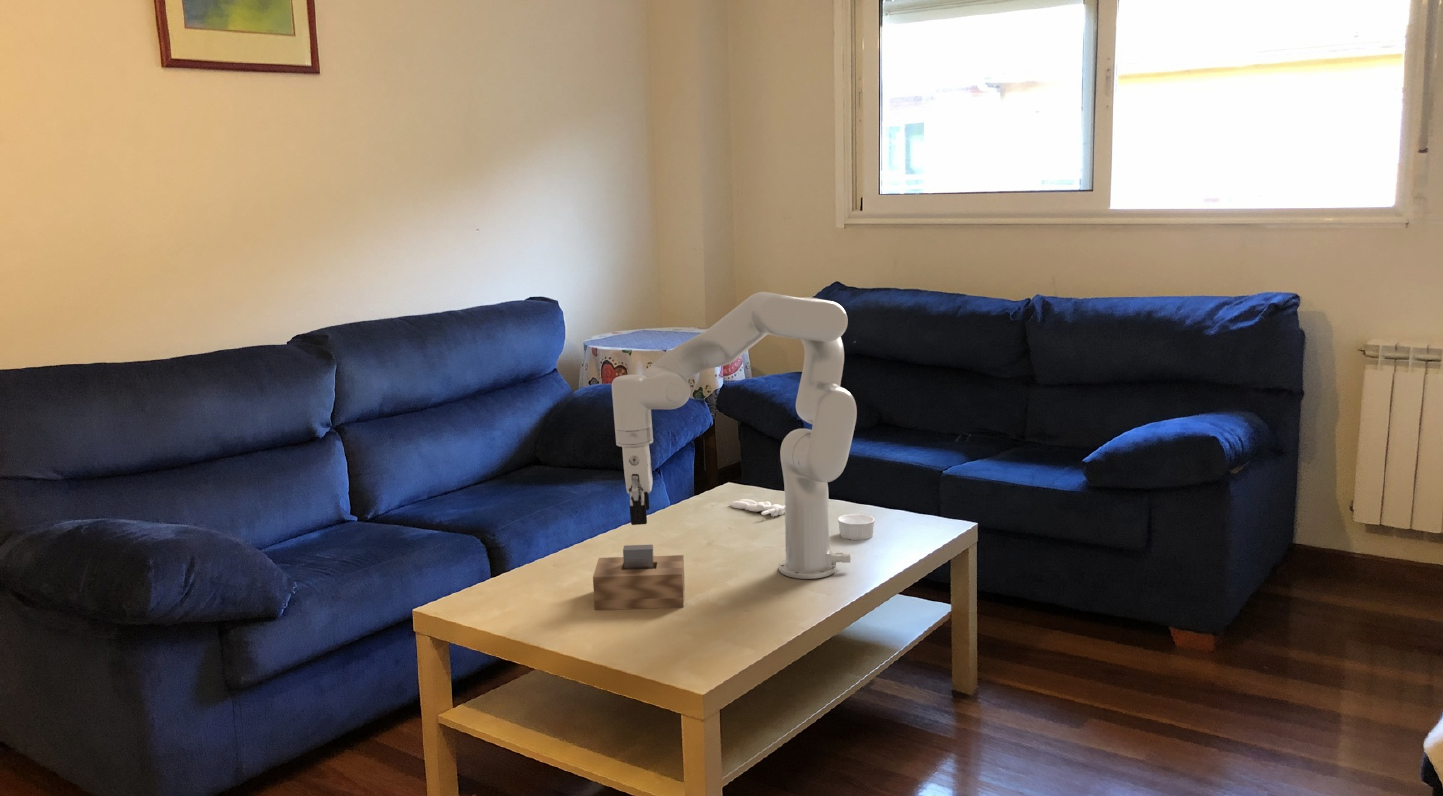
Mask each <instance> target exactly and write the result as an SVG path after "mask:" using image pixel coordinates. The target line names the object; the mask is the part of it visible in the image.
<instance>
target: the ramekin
mask: <svg viewBox="0 0 1443 796" xmlns="http://www.w3.org/2000/svg"><path fill="white" fill-rule="evenodd" d="M875 520H876V519H875V518H874V516H871V515H867V514H862V513H850V514H849V513H848V514H844V515H840V516H839V517H838V518H837V522H838V526H839V535H841V536H842V537H841V536H840V537H841V538H843V537H844V538H843V539H845V538H846V540H849V539H851V540H850V541H863V540H864V539H865V540H868V538H869V539H870V537H871V538H872V537H873V535H874V526H875V522H876V521H875Z"/></svg>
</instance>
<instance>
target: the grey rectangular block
mask: <svg viewBox="0 0 1443 796" xmlns="http://www.w3.org/2000/svg"><path fill="white" fill-rule="evenodd" d="M622 555H623V556H622V557H623V560H624V570H630V569H654V559H653V556H654V544H631V545H630V544H627V545H623V549H622Z"/></svg>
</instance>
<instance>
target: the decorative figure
mask: <svg viewBox="0 0 1443 796" xmlns="http://www.w3.org/2000/svg"><path fill="white" fill-rule="evenodd" d="M729 506H730V507H732V508H734V509H739V510H743V509H744V510H745V509H746V510H747V511H750V512H754V513H758V512H760V513H761V516H765V515H769V514H770V516H771V517H772V516H776V517H777V516H778V515H780V516H782V514H783V511H785V504H784V505H781V504H777V503H775V504H771V502H770V501H759V502H756V501H755V500H753V499H747V498H746V499H745V498H744V499H742V498H741V499H737V500H736V501H735V500H734V501H731V502H730V503H729Z"/></svg>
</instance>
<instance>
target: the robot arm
mask: <svg viewBox="0 0 1443 796" xmlns="http://www.w3.org/2000/svg"><path fill="white" fill-rule="evenodd" d="M848 321H849V320H848V315H847V312H846V310H845V309H844V308H843V306H842V305H840V304H839V303H838V302H835V301H833V300H832V301H831V300H827V299H821V298H818V297H811V296H810V297H805V296H804V297H797V296H791V295H785V294H780V293H775V292H770V291H769V292H768V291H759V292H755V293H753V294H751V295H750V296H749V297H748V298H746V299H745V300H743V301H742V302H741V303H740V304H739V305H737V306H736V307H734V308H733V309H732V310H731V311H729V312H728V313H727V314H725V316H723V317H722V318H721V319H719V320H718V321H717V322H716V323H714V324H713V325H712V326H711V327H709V328H707V329H706V330H705V331H703V332H701V333H699V334H697V335H695V336H693V337H691V338H689V339H688V340H686V341H684V342H682V343H680V344H678V345H677V346H674V348H672V349H671V350H669V351H668V352H666V353H664V355H663V356H661V357H659V358H658V360H656V361H655V362H654V363H652V364H651V365H650V366H649V367H648V368H647V369H646V370H645V371H644V373H643V374H624V375H619V376H616V377H615V378H614V379H613V380H612V382H611V395H612V397H611V398H612V407H613V420H614V432H615V443H616V444H615V445H616V446H617V447H621V448H622V461H623V472H624V480H625V489H626V494H627V495H629V516H630V525H632V526H640V525H647V523H648V520H647V519H648V518H647V517H648V515H647V511H649V510H650V497H649V495H650V493H651V492H652V489H653V480H654V479H653V474H652V473H653V472H652V459H651V452H650V445H652V444H653V443H654V435H653V433H654V432H653V423H652V422H653V421H652V410H676V409H678V408H681V407H682V406H684V405H685V404H686V403H687V402H688V400H689V398H690V396H691V392H692V391H691V385H690V383H689V381H688V380H690V378H692V377H694V376H696V375H698V374H700V373H702V372H705V371H707V370H710V369H715V368H720V367H721V368H722V367H724V366H727V365H729V364H731V363H734V362H735V361H736V360H738V359H739V358H740V357H741V356H743V355H744V354H745V353H746V352H747V351H749V350H750V349H751V348H752V347H754V346H755V345H756V344H757V343H759V341H760V342H761V340H762V339H763V338H765V337H766V336H768V335H770V336H774V337H779V338H786V339H792V340H794V339H795V340H800V341H801V343H802V345H803V349H804V359H803V368H802V373H801V377H800V381H799V385H798V390H797V395H796V400H795V410H796V413H797V415H798V417H799V418H800V419H801V420H802V421H805V422H806V423H808V424H809V425H812V426H811V429H809V428H797V429H793V430H792V431H790V432H789V433H788V434H786V436H785V437H784V438H783V439H782V442H781V446H780V451H779V453H780V463H781V469H782V476H783V484H784V487H783V488H784V505H785V509H784V523H785V524H784V525H785V527H784V528H785V533H784V534H785V559H784V560H782V561H781V562H779V564H778V570H779V572H780V573H781V574H782V575H784V576H787V577H790V578H794V579H798V580H799V579H801V580H813V579H814V580H815V579H821V578H826V577H829V576H831V575H833V574H834V573H836V571H837V563H842V564H845V563H851V554H850V553H844V551H833V550H831V548H830V543H829V542H830V535H829V534H830V533H829V531H830V530H829V529H830V528H829V527H830V525H829V524H830V523H829V502H830V501H829V485H828V483H830V482H833V481H835V480H837V478H839V477H840V476H841V474H842V473H843V472H844V469H845V467H846V465H847V462H848V458H849V456H850V455H849V454H850V450H851V446H852V441H853V436H854V431H855V429H856V428H855V426H856V424H857V413H858V412H857V411H858V410H857V408H858V407H857V404H856V400H855V397H854V396H853V394H851V392H850V391H848V390H847V389H846V388H844V387H842V386H841V384H842V382H841V381H842V377H843V371H844V364H845V351H844V350H845V349H844V343H843V340H842V336H843V335H844V333H845V332H846V330H847V328H848V324H849V323H848Z"/></svg>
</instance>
